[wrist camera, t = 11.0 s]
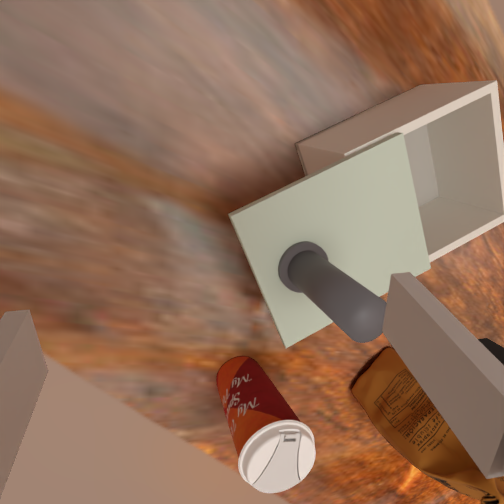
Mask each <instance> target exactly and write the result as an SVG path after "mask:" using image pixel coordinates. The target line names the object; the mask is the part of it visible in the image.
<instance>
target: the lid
mask: <svg viewBox="0 0 504 504" xmlns="http://www.w3.org/2000/svg"><path fill="white" fill-rule="evenodd" d="M228 216H229V218H230V220H231V223H232V225H233V227H234V230H235V232H236V234H237V237H238V239H239V241H240V244H241V246H242V248H243V251H244V253H245V256H246V258H247V260H248V263H249V265H250V267H251V270H252V272H253V274H254V277H255V279H256V281H257V284H258V286H259V288H260V291H261V293H262V296H263V298H264V300H265V303H266V305H267V307H268V310H269V312H270V314H271V317H272V319H273V321H274V324H275V326H276V329H277V331H278V333H279V336H280V338H281V340H282V343H283V344H284V346H285V347H286V348H287V347H289V346H291V345H293V344H295V343H296V342H298V341H300V340H302V339H304V338H305V337H307V336H309V335H311V334H313V333H315V332H316V331H318V330H320V329H322V328H324V327H325V326H327V325H329V324H331V323H333V322H334V323H335V324H336V325H337V326H339V327H340V328H341V329H342V330H343V331H344V332H345V333H346V334H347V335H348V336H349V337H350V338H351V339H352V340H354V341H356V342H360V343H365V342H369V341H372V340H374V339H376V338H377V337H378V336H380V335H381V334H382V333H383V332H382V329H383V323H384V316H385V310H386V304H387V303H386V302H385V301H384V300H383V299H381V298H380V296H382V295H383V294H385V293H387V292H388V291H389V285H390V278H391V274H394V273H404V272H410V273H411V274H412V275H413V276H414V277H416V276H418V275H420V274H421V273H423V272H425V271H427V270H429V269H430V268H431V266H430V261H429V256H428V251H427V247H426V242H425V237H424V232H423V227H422V222H421V218H420V213H419V208H418V203H417V198H416V193H415V188H414V184H413V179H412V174H411V169H410V164H409V159H408V154H407V150H406V145H405V140H404V135H403V133H399V132H397V133H394V134H392V135H390V136H388V137H386V138H384V139H382V140H380V141H378V142H376V143H374V144H372V145H370V146H368V147H366V148H363V149H361V150H359V151H357V152H355V153H353V154H351V155H349V156H347V157H345V158H343V159H341V160H339V161H337V162H334V163H332V164H330V165H328V166H326V167H324V168H322V169H320V170H318V171H316V172H314V173H312V174H310V175H308V176H305V177H303V178H301V179H299V180H297V181H295V182H293V183H291V184H289V185H287V186H285V187H283V188H281V189H279V190H277V191H274V192H272V193H270V194H268V195H266V196H264V197H262V198H260V199H258V200H256V201H254V202H252V203H250V204H248V205H245V206H243V207H241V208H239V209H237V210H235V211H233V212H231V213H229V214H228Z"/></svg>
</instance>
